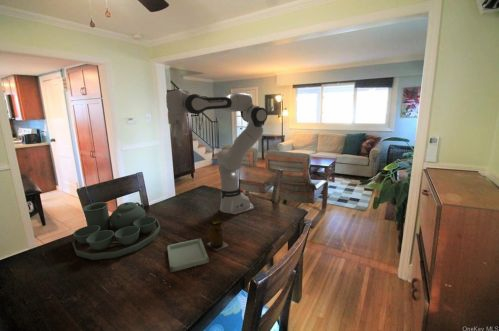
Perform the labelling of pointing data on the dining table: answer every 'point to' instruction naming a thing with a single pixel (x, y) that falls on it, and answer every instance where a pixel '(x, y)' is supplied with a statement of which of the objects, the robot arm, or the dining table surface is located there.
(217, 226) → the condiment
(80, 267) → the dining table surface
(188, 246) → the tray
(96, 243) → the tea set
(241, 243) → the dining table surface
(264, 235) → the dining table surface
